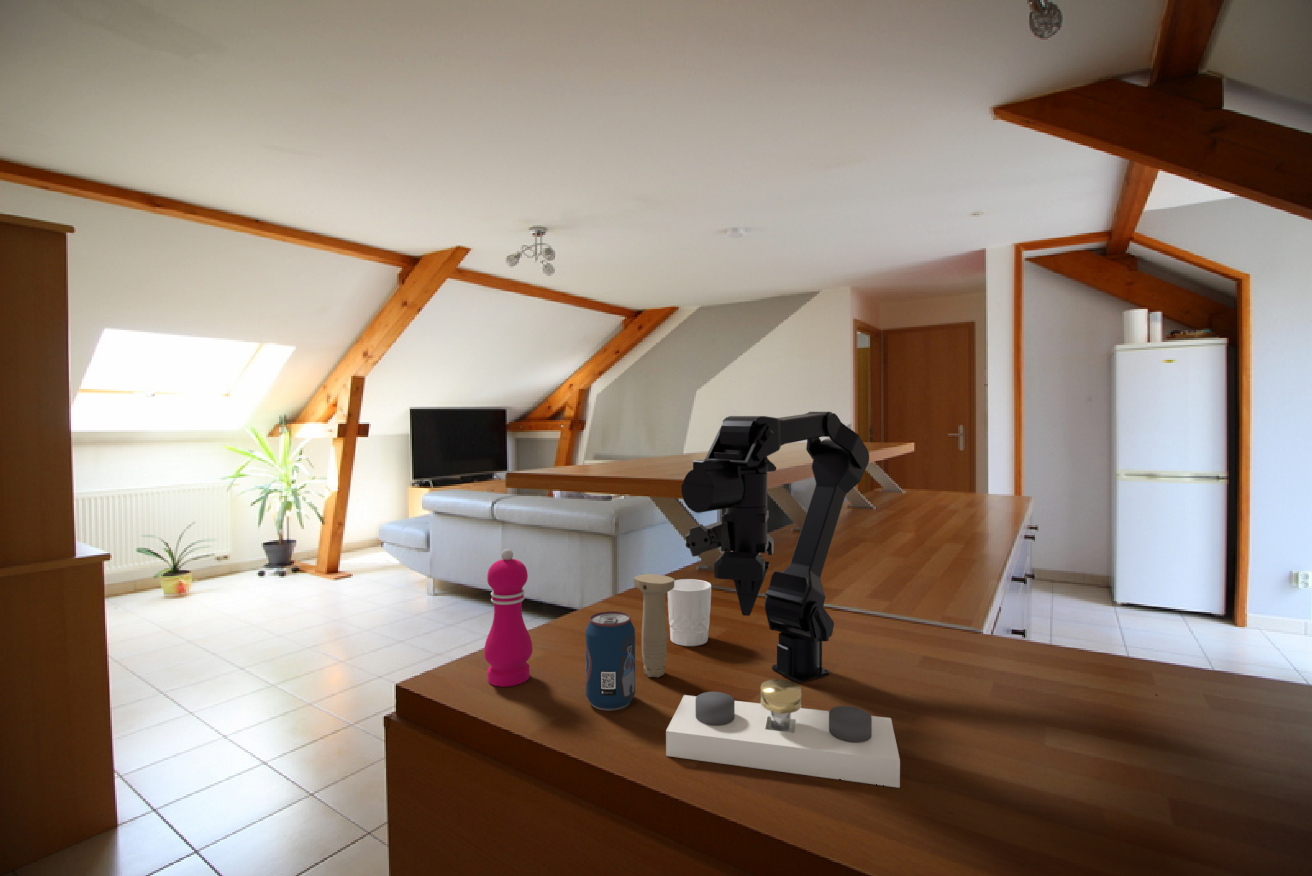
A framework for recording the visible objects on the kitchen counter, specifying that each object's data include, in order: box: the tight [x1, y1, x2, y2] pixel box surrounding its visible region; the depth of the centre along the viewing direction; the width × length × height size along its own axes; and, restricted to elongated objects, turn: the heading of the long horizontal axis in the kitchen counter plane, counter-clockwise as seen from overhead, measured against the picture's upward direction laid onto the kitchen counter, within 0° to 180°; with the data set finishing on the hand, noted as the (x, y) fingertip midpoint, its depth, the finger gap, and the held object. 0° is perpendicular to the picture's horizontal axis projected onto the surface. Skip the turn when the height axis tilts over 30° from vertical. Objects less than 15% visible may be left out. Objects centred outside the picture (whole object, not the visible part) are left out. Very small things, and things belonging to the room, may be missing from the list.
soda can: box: [585, 610, 636, 711], centre depth 90 cm, size 7×7×12 cm
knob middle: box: [760, 678, 802, 731], centre depth 77 cm, size 5×5×5 cm
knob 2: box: [828, 705, 872, 742], centre depth 75 cm, size 5×5×5 cm
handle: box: [633, 573, 675, 678], centre depth 100 cm, size 5×6×15 cm
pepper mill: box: [483, 548, 533, 688], centre depth 98 cm, size 7×7×20 cm
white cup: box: [666, 578, 712, 647], centre depth 115 cm, size 8×8×10 cm
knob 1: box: [696, 691, 736, 725], centre depth 79 cm, size 5×5×5 cm
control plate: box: [665, 694, 901, 789], centre depth 77 cm, size 26×10×3 cm, turn 75°
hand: (746, 615), depth 91 cm, fingers closed
